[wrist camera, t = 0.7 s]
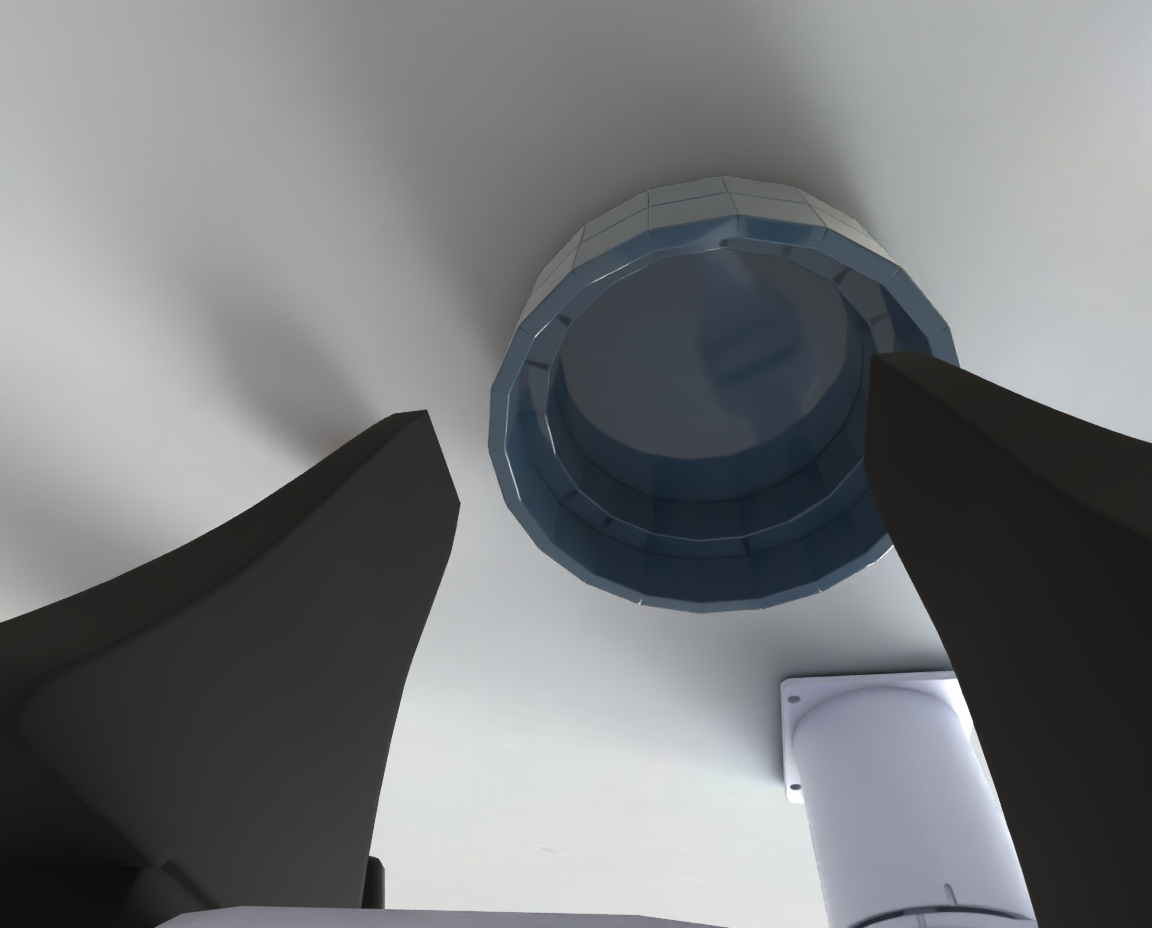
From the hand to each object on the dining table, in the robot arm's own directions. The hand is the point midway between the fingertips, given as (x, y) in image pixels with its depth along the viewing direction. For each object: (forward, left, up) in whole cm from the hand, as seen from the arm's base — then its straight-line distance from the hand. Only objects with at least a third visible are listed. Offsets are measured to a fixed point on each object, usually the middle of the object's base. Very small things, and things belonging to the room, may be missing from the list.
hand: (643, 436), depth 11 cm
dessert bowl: (-4, -1, -10) cm, 11 cm away
